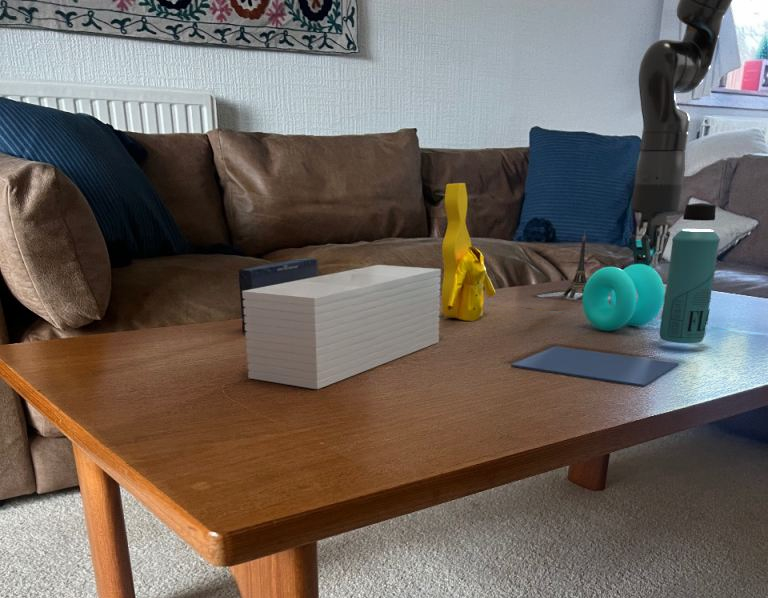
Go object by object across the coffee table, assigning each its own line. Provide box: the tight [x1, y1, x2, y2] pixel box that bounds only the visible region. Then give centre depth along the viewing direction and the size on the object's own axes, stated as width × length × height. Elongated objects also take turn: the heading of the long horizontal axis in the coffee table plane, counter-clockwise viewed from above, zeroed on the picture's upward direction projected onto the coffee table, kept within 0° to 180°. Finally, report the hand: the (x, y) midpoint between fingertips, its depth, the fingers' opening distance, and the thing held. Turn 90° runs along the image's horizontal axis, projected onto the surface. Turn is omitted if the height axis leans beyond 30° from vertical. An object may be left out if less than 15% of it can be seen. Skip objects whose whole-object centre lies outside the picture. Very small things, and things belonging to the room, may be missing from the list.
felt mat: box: [510, 346, 680, 388], centre depth 105 cm, size 18×14×1 cm
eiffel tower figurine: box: [536, 231, 610, 301], centre depth 154 cm, size 15×10×13 cm
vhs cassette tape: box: [238, 257, 319, 334], centre depth 130 cm, size 18×3×10 cm, turn 148°
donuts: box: [581, 263, 665, 332], centre depth 128 cm, size 10×10×10 cm
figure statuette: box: [441, 182, 497, 322], centre depth 134 cm, size 18×8×22 cm, turn 148°
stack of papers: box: [242, 264, 442, 390], centre depth 107 cm, size 32×11×11 cm, turn 149°
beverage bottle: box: [659, 202, 721, 344], centre depth 111 cm, size 6×7×20 cm
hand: (644, 290), depth 135 cm, fingers closed
